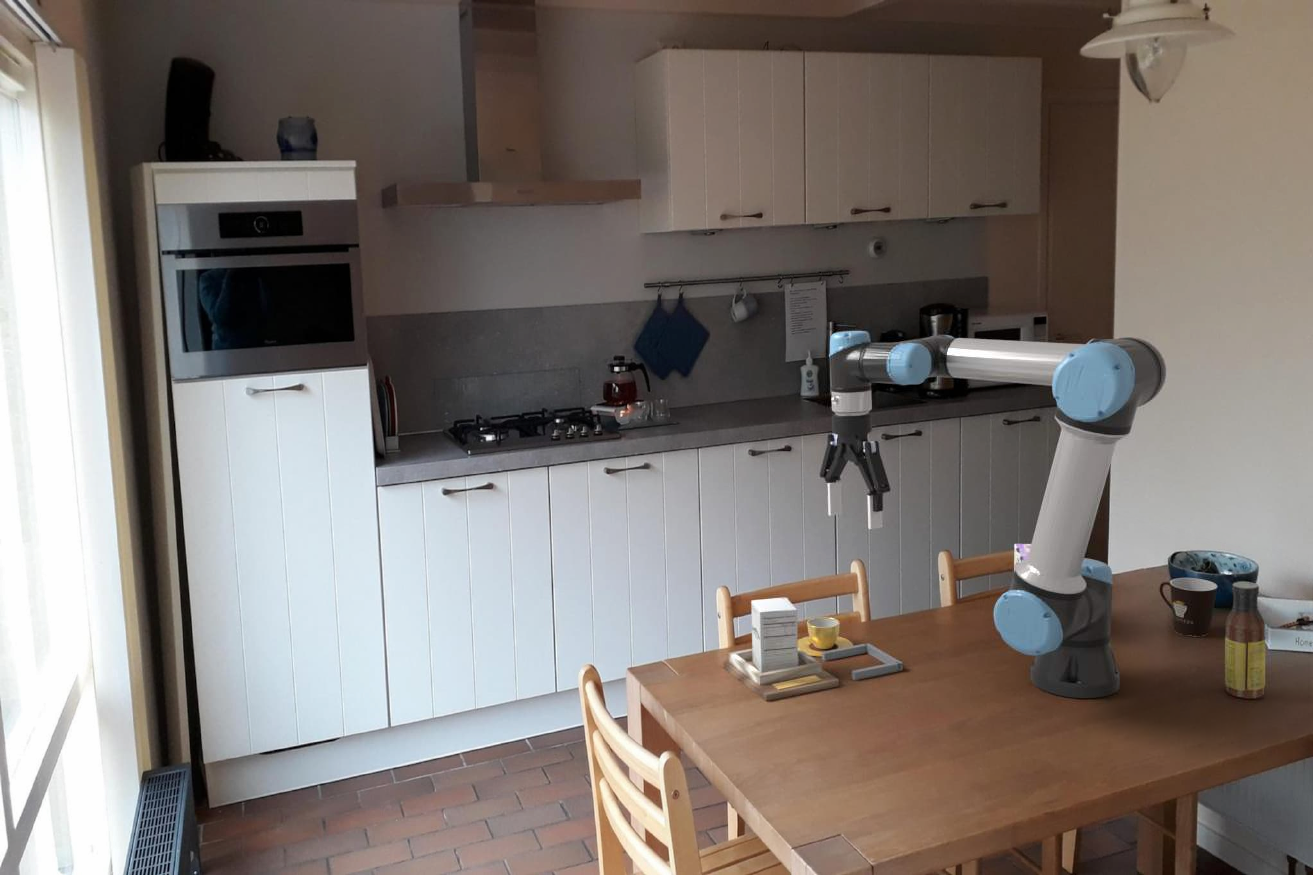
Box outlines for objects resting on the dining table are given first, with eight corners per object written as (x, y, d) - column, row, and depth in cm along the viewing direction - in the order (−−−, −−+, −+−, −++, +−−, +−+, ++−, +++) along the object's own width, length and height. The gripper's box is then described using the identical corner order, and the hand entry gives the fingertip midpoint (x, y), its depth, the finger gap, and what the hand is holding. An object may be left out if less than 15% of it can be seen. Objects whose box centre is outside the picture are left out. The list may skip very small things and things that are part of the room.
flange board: (838, 686, 208) (838, 670, 207) (766, 701, 202) (765, 685, 202) (791, 654, 224) (791, 640, 224) (723, 667, 219) (722, 652, 218)
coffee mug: (1223, 638, 224) (1225, 590, 222) (1179, 640, 224) (1181, 591, 222) (1196, 619, 235) (1198, 572, 233) (1154, 620, 235) (1156, 574, 233)
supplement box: (751, 662, 218) (750, 599, 216) (789, 658, 219) (788, 596, 217) (760, 676, 211) (759, 611, 208) (799, 673, 212) (798, 608, 209)
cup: (865, 652, 225) (864, 626, 224) (812, 662, 220) (811, 636, 219) (833, 633, 236) (833, 608, 235) (782, 643, 231) (782, 618, 230)
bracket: (902, 670, 214) (902, 662, 214) (854, 680, 210) (854, 672, 210) (868, 650, 225) (868, 642, 225) (822, 659, 221) (822, 651, 221)
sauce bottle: (1263, 689, 199) (1269, 580, 196) (1265, 702, 193) (1271, 591, 190) (1221, 684, 202) (1227, 577, 198) (1222, 697, 196) (1228, 587, 193)
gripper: (800, 408, 225) (804, 512, 228) (873, 421, 202) (876, 536, 206) (832, 404, 228) (835, 506, 231) (907, 417, 205) (910, 530, 209)
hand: (854, 521), depth 219 cm, fingers open, 13 cm apart
